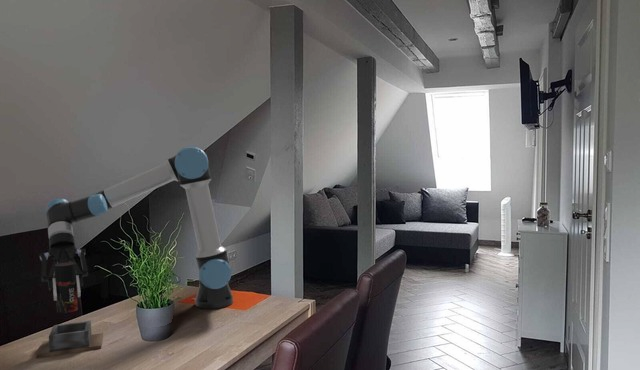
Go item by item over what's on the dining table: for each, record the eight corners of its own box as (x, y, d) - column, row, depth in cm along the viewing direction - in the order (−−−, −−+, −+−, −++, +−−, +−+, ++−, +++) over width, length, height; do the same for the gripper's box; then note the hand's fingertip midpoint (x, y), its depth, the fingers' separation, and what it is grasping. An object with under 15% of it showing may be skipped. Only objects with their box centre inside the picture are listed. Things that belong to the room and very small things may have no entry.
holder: (103, 335, 165) (102, 318, 165) (101, 348, 154) (100, 329, 154) (43, 344, 159) (41, 326, 158) (36, 358, 147) (35, 338, 147)
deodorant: (68, 313, 152) (66, 266, 151) (52, 312, 153) (50, 265, 152) (81, 307, 158) (79, 262, 157) (65, 307, 159) (63, 261, 158)
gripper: (91, 241, 172) (99, 297, 159) (29, 247, 163) (32, 308, 150) (92, 228, 168) (101, 285, 155) (28, 234, 158) (32, 295, 145)
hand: (67, 296), depth 152 cm, fingers closed on deodorant, 6 cm apart
